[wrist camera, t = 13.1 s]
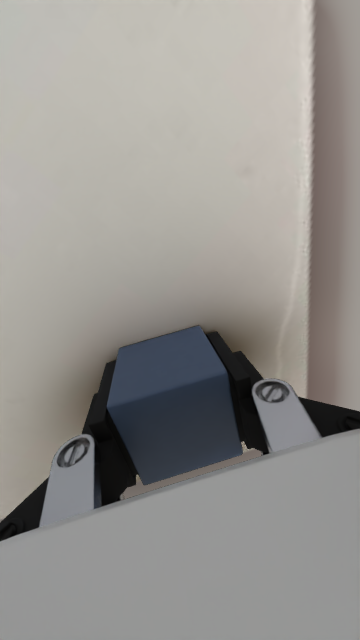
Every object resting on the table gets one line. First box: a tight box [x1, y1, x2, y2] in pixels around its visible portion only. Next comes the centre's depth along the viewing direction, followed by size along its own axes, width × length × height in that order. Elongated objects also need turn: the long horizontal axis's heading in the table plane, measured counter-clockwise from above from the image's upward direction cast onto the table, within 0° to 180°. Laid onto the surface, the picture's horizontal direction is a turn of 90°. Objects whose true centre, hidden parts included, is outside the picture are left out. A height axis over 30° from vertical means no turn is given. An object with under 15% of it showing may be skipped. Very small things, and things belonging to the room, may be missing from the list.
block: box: [107, 326, 243, 485], centre depth 10 cm, size 4×4×4 cm
